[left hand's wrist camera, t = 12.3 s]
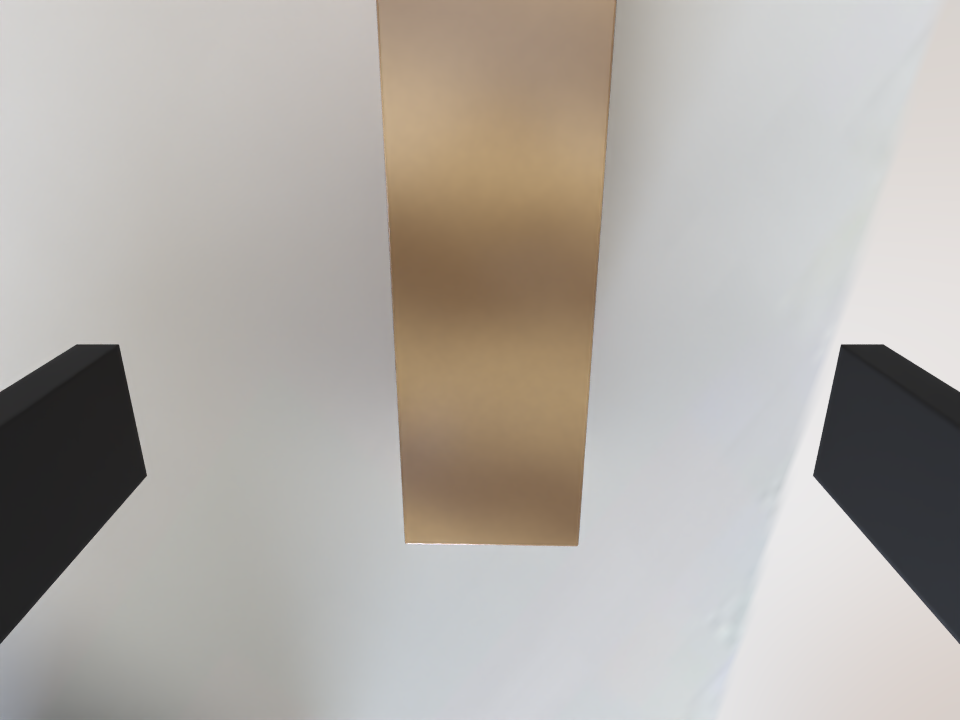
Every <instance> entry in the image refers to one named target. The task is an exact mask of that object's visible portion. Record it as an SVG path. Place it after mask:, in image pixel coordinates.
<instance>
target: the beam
mask: <svg viewBox="0 0 960 720" xmlns="http://www.w3.org/2000/svg"><path fill="white" fill-rule="evenodd" d="M616 3H617V0H376V6H377V24H378V43H379V62H380V81H381V100H382V119H383V138H384V156H385V175H386V194H387V213H388V232H389V251H390V270H391V289H392V307H393V326H394V345H395V364H396V383H397V402H398V421H399V439H400V458H401V477H402V496H403V515H404V534H405V543H406V544H451V545H522V546H578V542H579V528H580V514H581V499H582V485H583V471H584V457H585V443H586V429H587V414H588V400H589V386H590V372H591V358H592V344H593V329H594V315H595V301H596V287H597V273H598V258H599V244H600V230H601V216H602V202H603V188H604V173H605V159H606V145H607V131H608V117H609V103H610V88H611V74H612V60H613V46H614V32H615V18H616Z"/></svg>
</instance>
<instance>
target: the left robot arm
mask: <svg viewBox="0 0 960 720" xmlns="http://www.w3.org/2000/svg"><path fill="white" fill-rule="evenodd" d="M146 476H147V474H146V469H145V465H144V460H143V455H142V451H141V446H140V441H139V437H138V432H137V427H136V422H135V418H134V413H133V408H132V404H131V399H130V394H129V390H128V385H127V380H126V376H125V371H124V366H123V362H122V357H121V352H120V347H119V345H75V346H74V347H72V348H70V349H69V350H67V351H66V352H64V353H62V354H61V355H59V356H57V357H56V358H54V359H53V360H51V361H49V362H48V363H46V364H45V365H43V366H41V367H40V368H38V369H37V370H35V371H33V372H32V373H30V374H29V375H27V376H25V377H24V378H22V379H21V380H19V381H17V382H16V383H14V384H13V385H11V386H9V387H8V388H6V389H4V390H3V391H1V392H0V644H1V643H2V641H3V640H4V639H5V638H6V637H7V636H8V635H9V633H10V632H11V631H12V630H13V629H14V628H15V626H16V625H17V624H18V623H19V622H20V621H21V620H22V618H23V617H24V616H25V615H26V614H27V613H28V612H29V610H30V609H31V608H32V607H33V606H34V605H35V604H36V602H37V601H38V600H39V599H40V598H41V597H42V595H43V594H44V593H45V592H46V591H47V590H48V589H49V587H50V586H51V585H52V584H53V583H54V582H55V581H56V579H57V578H58V577H59V576H60V575H61V574H62V573H63V571H64V570H65V569H66V568H67V567H68V566H69V565H70V563H71V562H72V561H73V560H74V559H75V558H76V556H77V555H78V554H79V553H80V552H81V551H82V550H83V548H84V547H85V546H86V545H87V544H88V543H89V542H90V540H91V539H92V538H93V537H94V536H95V535H96V534H97V532H98V531H99V530H100V529H101V528H102V527H103V525H104V524H105V523H106V522H107V521H108V520H109V519H110V517H111V516H112V515H113V514H114V513H115V512H116V511H117V509H118V508H119V507H120V506H121V505H122V504H123V503H124V501H125V500H126V499H127V498H128V497H129V496H130V495H131V493H132V492H133V491H134V490H135V489H136V488H137V486H138V485H139V484H140V483H141V482H142V481H143V480H144V478H145V477H146ZM813 476H814V477H815V478H816V480H817V481H818V482H819V483H820V484H821V485H822V486H823V488H824V489H825V490H826V491H827V492H828V493H829V495H830V496H831V497H832V498H833V499H834V500H835V501H836V503H837V504H838V505H839V506H840V507H841V508H842V509H843V511H844V512H845V513H846V514H847V515H848V516H849V517H850V519H851V520H852V521H853V522H854V523H855V524H856V525H857V527H858V528H859V529H860V530H861V531H862V532H863V534H864V535H865V536H866V537H867V538H868V539H869V540H870V541H871V543H872V544H873V545H874V546H875V547H876V548H877V550H878V551H879V552H880V553H881V554H882V555H883V556H884V558H885V559H886V560H887V561H888V562H889V563H890V564H891V566H892V567H893V568H894V569H895V570H896V571H897V573H898V574H899V575H900V576H901V577H902V578H903V579H904V581H905V582H906V583H907V584H908V585H909V586H910V587H911V589H912V590H913V591H914V592H915V593H916V594H917V595H918V597H919V598H920V599H921V600H922V601H923V602H924V604H925V605H926V606H927V607H928V608H929V609H930V610H931V612H932V613H933V614H934V615H935V616H936V617H937V618H938V620H939V621H940V622H941V623H942V624H943V625H944V626H945V628H946V629H947V630H948V631H949V632H950V633H951V634H952V636H953V637H954V638H955V639H956V640H957V641H958V643H959V644H960V392H959V391H957V390H956V389H954V388H952V387H951V386H949V385H947V384H946V383H944V382H943V381H941V380H939V379H938V378H936V377H935V376H933V375H931V374H930V373H928V372H927V371H925V370H923V369H922V368H920V367H919V366H917V365H915V364H914V363H912V362H911V361H909V360H907V359H906V358H904V357H903V356H901V355H899V354H898V353H896V352H894V351H893V350H891V349H890V348H888V347H886V346H885V345H841V347H840V352H839V357H838V362H837V367H836V371H835V376H834V380H833V385H832V390H831V394H830V399H829V404H828V409H827V413H826V418H825V422H824V427H823V432H822V437H821V441H820V446H819V451H818V455H817V460H816V465H815V470H814V474H813Z"/></svg>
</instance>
